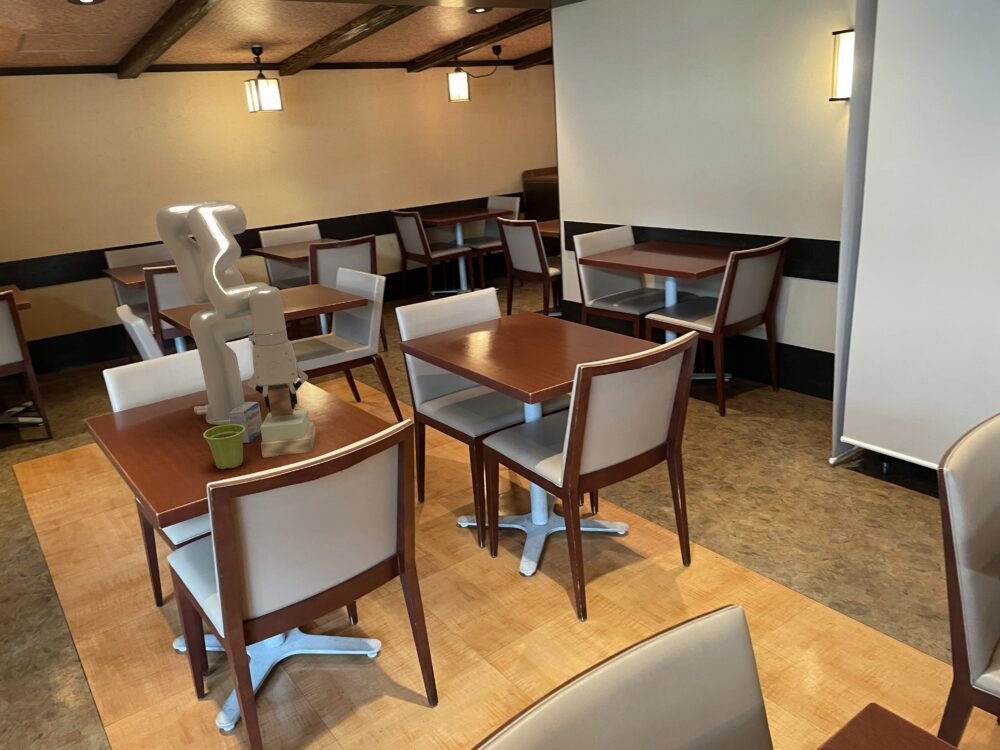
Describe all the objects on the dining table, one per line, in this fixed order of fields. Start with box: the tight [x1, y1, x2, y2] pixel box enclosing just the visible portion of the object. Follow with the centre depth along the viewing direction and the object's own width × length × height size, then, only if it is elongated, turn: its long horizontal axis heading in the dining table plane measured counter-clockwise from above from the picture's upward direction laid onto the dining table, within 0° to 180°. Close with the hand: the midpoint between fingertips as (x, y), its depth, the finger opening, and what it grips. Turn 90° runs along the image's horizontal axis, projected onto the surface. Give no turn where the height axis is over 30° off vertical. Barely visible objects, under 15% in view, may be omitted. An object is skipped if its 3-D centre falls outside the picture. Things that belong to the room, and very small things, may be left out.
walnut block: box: [267, 384, 295, 417], centre depth 187 cm, size 5×5×7 cm
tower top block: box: [260, 408, 311, 442], centre depth 189 cm, size 10×10×4 cm
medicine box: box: [229, 401, 263, 444], centre depth 196 cm, size 8×4×9 cm, turn 168°
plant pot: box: [203, 424, 245, 470], centre depth 180 cm, size 9×9×9 cm
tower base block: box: [260, 421, 317, 458], centre depth 190 cm, size 12×12×4 cm
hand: (282, 407), depth 187 cm, fingers closed on walnut block, 4 cm apart
